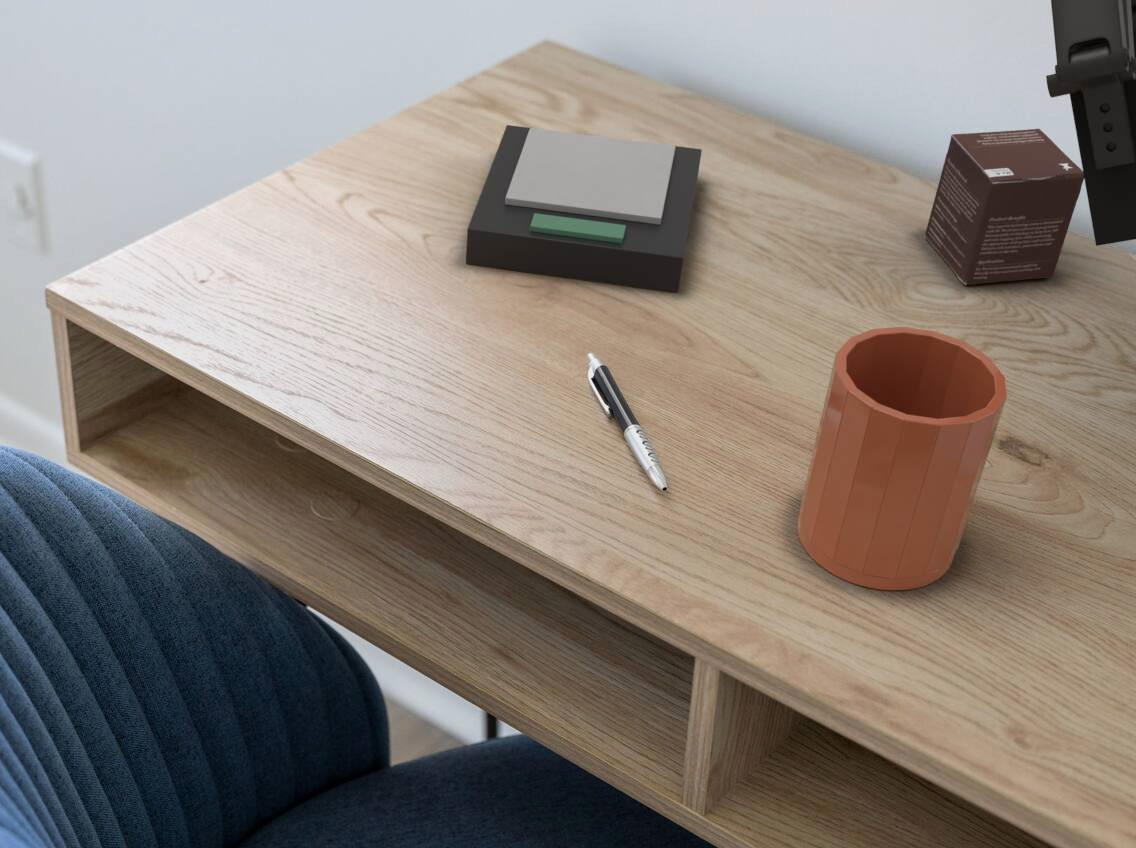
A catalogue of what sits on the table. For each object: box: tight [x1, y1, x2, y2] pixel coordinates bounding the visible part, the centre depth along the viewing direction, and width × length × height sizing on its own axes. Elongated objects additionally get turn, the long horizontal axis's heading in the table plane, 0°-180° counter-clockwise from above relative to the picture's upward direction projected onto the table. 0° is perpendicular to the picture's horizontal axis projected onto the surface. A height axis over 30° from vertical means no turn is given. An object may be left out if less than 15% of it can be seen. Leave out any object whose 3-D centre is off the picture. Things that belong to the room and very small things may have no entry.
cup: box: [797, 326, 1008, 591], centre depth 77 cm, size 8×8×10 cm
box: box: [924, 128, 1085, 286], centre depth 99 cm, size 6×6×7 cm
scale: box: [465, 124, 703, 294], centre depth 102 cm, size 13×14×3 cm
